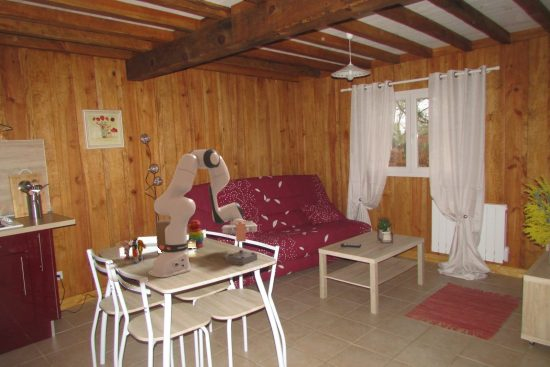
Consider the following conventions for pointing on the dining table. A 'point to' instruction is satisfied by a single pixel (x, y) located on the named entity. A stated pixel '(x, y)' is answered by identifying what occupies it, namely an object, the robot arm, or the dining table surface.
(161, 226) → the block
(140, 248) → the doll family
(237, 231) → the terracotta brick
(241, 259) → the charcoal base brick
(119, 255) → the dining table surface
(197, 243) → the stacking bear
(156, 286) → the dining table surface
